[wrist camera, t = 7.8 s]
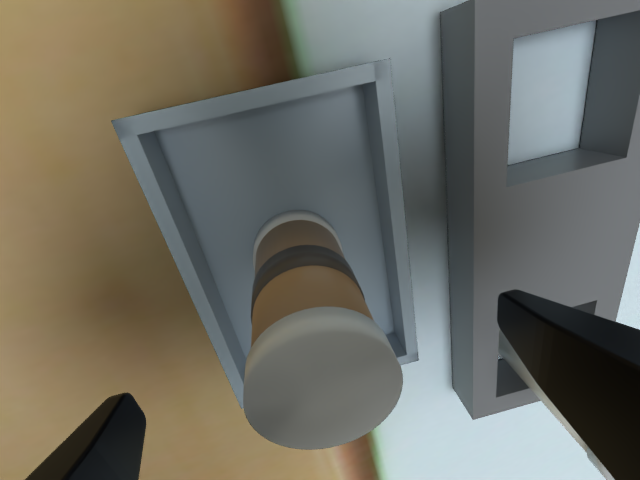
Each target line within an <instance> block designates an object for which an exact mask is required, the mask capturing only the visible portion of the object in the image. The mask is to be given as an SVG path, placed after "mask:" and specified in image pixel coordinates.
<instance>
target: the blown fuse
mask: <svg viewBox="0 0 640 480" xmlns="http://www.w3.org/2000/svg"><path fill="white" fill-rule="evenodd" d="M253 266H254V270H255V279H254V282H253V287H252V303H251V324H252V336H251V349H250V351H249V354H248V356H247V360H246V364H245V377H244V391H243V407H244V412H245V415H246V418H247V419H248V421H249V423H250V424H251V426H252V427H253V428H254V429H255V430H256V431H257V432H258V433H259V434H260V435H261V436H263V437H264V438H266V439H267V440H269V441H271V442H274V443H276V444H279V445H282V446H285V447H289V448H295V449H310V450H312V449H323V448H330V447H334V446H339V445H342V444H345V443H348V442H350V441H353V440H355V439H357V438H359V437H361V436H363V435H365V434H367V433H368V432H370V431H371V430H373V429H374V428H375V427H377V426H378V425H379V424H380V423H381V422H382V421H384V420H385V419H386V418H387V416H388V415H389V414H390V413H391V412H392V410H393V409H394V407H395V405H396V404H397V402H398V400H399V397H400V394H401V391H402V385H403V374H402V370H401V366H400V364H399V362H398V360H397V358H396V355H395V353H394V351H393V349H392V347H391V345H390V343H389V341H388V339H387V337H386V335H385V333H384V332H383V330H382V329H381V328H380V327H379V326H378V324H377V323H375V322H374V319H373V317H372V315H371V313H370V311H369V309H368V307H367V304H366V302H365V298H364V294H363V292H362V290H361V287H360V285H359V283H358V281H357V279H356V277H355V275H354V273H353V271H352V269H351V267H350V265H349V264H348V262H347V261H346V259H345V257H344V255H343V250H342V246H341V243H340V240H339V238H338V236H337V234H336V232H335V230H334V228H333V227H332V225H331V224H330V223H329V222H328V221H327V220H326V219H325V218H323V217H322V216H320V215H318V214H316V213H313V212H310V211H306V210H290V211H285V212H282V213H280V214H277V215H275V216H274V217H272V218H271V219H269V220H268V221H267V222H266V223H265V224H264V225H263V226H262V227H261V229H260V230H259V232H258V234H257V236H256V238H255V242H254V249H253Z"/></svg>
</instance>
